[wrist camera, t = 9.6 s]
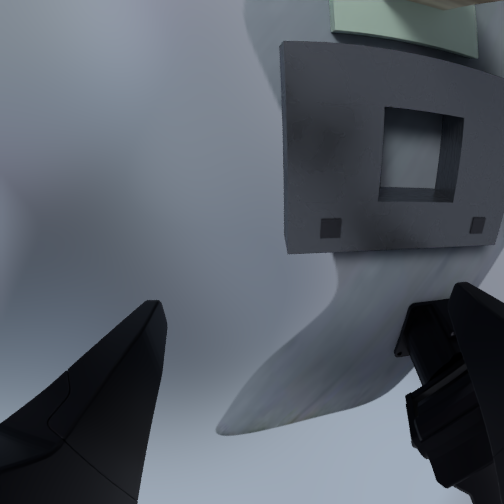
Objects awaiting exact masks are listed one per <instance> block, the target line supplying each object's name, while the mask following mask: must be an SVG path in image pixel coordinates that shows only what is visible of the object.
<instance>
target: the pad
mask: <svg viewBox="0 0 504 504" xmlns="http://www.w3.org/2000/svg"><path fill="white" fill-rule="evenodd" d="M329 8H330V24H331V32H334V33H345V34H355V35H363V36H371V37H378V38H385V39H391V40H396V41H402V42H407V43H412V44H417V45H421V46H426V47H430V48H434V49H438V50H442V51H446V52H450V53H453V54H457V55H460V56H464V57H467V58H473V59H478V39H477V24H476V13H475V5H469V6H464V7H458V8H453V9H449V10H441V9H437V8H434V7H430V6H427V5H423V4H419V3H415V2H411V1H407V0H329Z"/></svg>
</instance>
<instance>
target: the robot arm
mask: <svg viewBox="0 0 504 504" xmlns="http://www.w3.org/2000/svg"><path fill="white" fill-rule="evenodd" d="M166 335H167V321H166V317H165V313H164V310H163V306H162V303H161V302H160V301H159V300H147V301H145V302H144V303H143V304H142V305H140V306H139V307H138V308H137V309H136V310H134V311H133V312H132V313H131V314H130V315H129V316H127V317H126V318H125V319H124V320H123V321H122V322H120V323H119V324H118V325H117V326H116V327H115V328H114V329H112V330H111V331H110V332H109V333H108V334H107V335H106V336H104V337H103V338H102V339H101V340H100V341H99V342H98V343H97V344H95V345H94V346H93V347H92V348H91V349H90V350H89V351H88V352H86V353H85V354H84V355H83V356H82V357H81V358H80V359H79V360H77V362H75V363H74V364H73V365H72V366H71V367H70V368H69V369H68V371H65V372H64V373H63V374H62V375H61V376H60V377H59V378H57V379H56V380H55V381H54V382H53V383H52V384H50V386H48V387H47V388H46V389H45V390H43V391H42V392H41V393H40V394H38V395H37V396H36V397H35V398H33V399H32V400H31V401H30V402H28V403H27V404H26V405H25V406H23V407H22V408H20V409H19V410H18V411H17V412H15V413H14V414H12V415H11V416H10V417H9V418H7V419H6V420H5V421H3V422H2V423H0V504H137V503H138V502H137V500H138V495H139V489H140V483H141V477H142V472H143V466H144V460H145V455H146V450H147V444H148V439H149V434H150V429H151V424H152V419H153V414H154V410H155V405H156V400H157V396H158V390H159V386H160V382H161V377H162V371H163V362H164V353H165V344H166ZM394 354H395V357H403V356H409V355H410V357H411V360H412V362H413V364H414V367H415V369H416V371H417V374H418V376H419V379H420V381H421V384H422V387H420V388H418V389H417V390H415V391H414V392H412V393H409V394H407V395H406V396H405V398H406V403H407V404H406V409H407V415H408V421H409V427H410V434H411V440H412V441H411V443H412V446H413V447H414V448H417V449H418V450H419V452H420V453H421V455H422V456H423V457H424V458H426V459H429V460H430V463H431V465H432V468H433V471H434V474H435V477H436V480H437V482H438V483H440V484H441V485H442V486H444V487H445V488H449V487H451V486H454V487H455V488H457V489H459V490H461V491H463V492H465V493H467V494H469V496H470V497H471V500H472V503H473V504H504V303H503V302H501V301H499V300H498V299H496V298H494V297H493V296H491V295H489V294H487V293H486V292H484V291H482V290H480V289H479V288H477V287H475V286H473V285H472V284H470V283H468V282H459V283H456V284H455V285H454V288H453V290H452V293H451V296H450V299H443V300H436V301H427V302H419V303H413V304H411V305H410V306H409V309H408V312H407V315H406V318H405V321H404V324H403V327H402V330H401V333H400V336H399V339H398V342H397V344H396V347H395V350H394Z"/></svg>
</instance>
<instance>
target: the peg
mask: <svg viewBox="0 0 504 504" xmlns="http://www.w3.org/2000/svg"><path fill="white" fill-rule="evenodd" d="M407 1H411V2H415V3H419V4H423V5H427V6H430V7H434V8H437V9H441V10H449V9H453V8H458V7H464V6H469V5H475V4H481V3H488V2H495V1H503V0H407Z"/></svg>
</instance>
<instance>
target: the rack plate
mask: <svg viewBox="0 0 504 504" xmlns="http://www.w3.org/2000/svg"><path fill="white" fill-rule="evenodd" d="M279 49H280V71H281V95H282V123H283V125H282V126H283V165H284V166H283V168H284V236H285V242H286V247H287V253H288V254H302V253H303V254H304V253H327V252H350V251H372V250H394V249H416V248H437V247H458V246H478V245H495V242H496V239H497V235H498V232H499V228H500V224H501V221H502V217H503V213H504V79H503V78H501V77H498V76H495V75H492V74H489V73H486V72H483V71H480V70H477V69H474V68H470V67H467V66H463V65H460V64H456V63H452V62H449V61H445V60H441V59H436V58H432V57H428V56H423V55H418V54H413V53H408V52H403V51H397V50H391V49H384V48H377V47H370V46H362V45H352V44H341V43H328V42H308V41H283V42H282V44H281V45H280V46H279ZM384 107H395V108H404V109H412V110H419V111H426V112H433V113H439V114H443V124H442V136H441V147H440V156H439V164H438V172H437V179H436V186H435V189H430V188H398V187H379V186H380V175H381V163H382V150H383V133H384Z"/></svg>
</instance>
